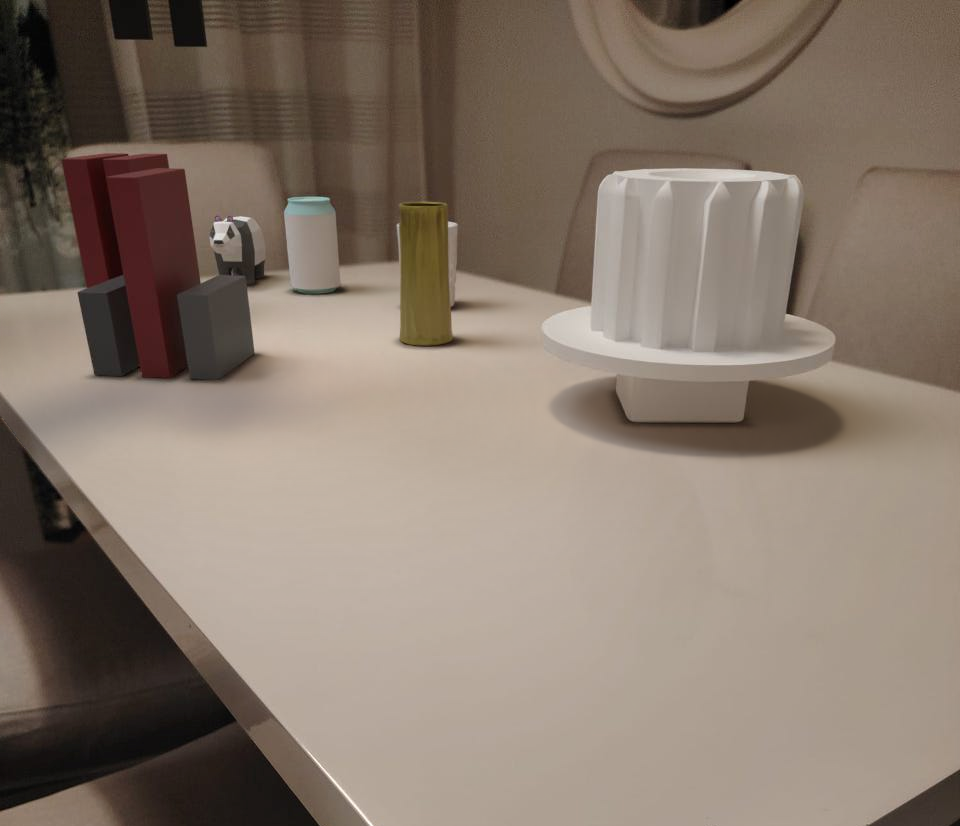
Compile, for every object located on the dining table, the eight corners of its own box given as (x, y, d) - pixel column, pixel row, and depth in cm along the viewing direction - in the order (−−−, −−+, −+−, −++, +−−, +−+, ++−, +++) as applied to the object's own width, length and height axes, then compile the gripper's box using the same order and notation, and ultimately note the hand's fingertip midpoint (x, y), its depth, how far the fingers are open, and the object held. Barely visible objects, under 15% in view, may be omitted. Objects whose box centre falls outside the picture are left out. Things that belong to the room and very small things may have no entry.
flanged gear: (546, 451, 74) (556, 188, 65) (533, 370, 96) (539, 163, 86) (861, 452, 74) (918, 188, 65) (777, 371, 96) (811, 164, 86)
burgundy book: (141, 377, 94) (105, 176, 84) (184, 351, 103) (156, 168, 94) (170, 378, 93) (137, 177, 84) (210, 351, 103) (184, 168, 94)
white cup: (468, 302, 127) (468, 222, 122) (442, 313, 121) (440, 229, 115) (417, 298, 130) (414, 219, 125) (389, 308, 123) (385, 226, 118)
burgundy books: (93, 322, 116) (60, 158, 107) (132, 304, 125) (105, 153, 116) (155, 323, 115) (127, 159, 106) (189, 306, 124) (167, 153, 115)
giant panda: (235, 274, 146) (227, 207, 141) (270, 274, 146) (263, 207, 141) (205, 291, 134) (195, 218, 129) (243, 292, 133) (234, 218, 128)
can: (343, 293, 132) (336, 200, 126) (292, 295, 131) (284, 201, 125) (338, 284, 138) (331, 195, 132) (289, 286, 137) (281, 196, 131)
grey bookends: (94, 375, 94) (76, 291, 90) (141, 349, 103) (127, 272, 99) (218, 379, 93) (207, 295, 89) (254, 353, 102) (245, 275, 98)
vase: (463, 340, 108) (463, 204, 100) (423, 349, 104) (420, 208, 97) (428, 331, 111) (425, 199, 104) (388, 340, 108) (382, 203, 100)
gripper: (95, -391, 55) (156, 36, 66) (218, -257, 77) (249, 49, 88) (-28, -389, 56) (52, 35, 66) (129, -256, 77) (170, 48, 88)
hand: (164, 44), depth 77 cm, fingers open, 13 cm apart
